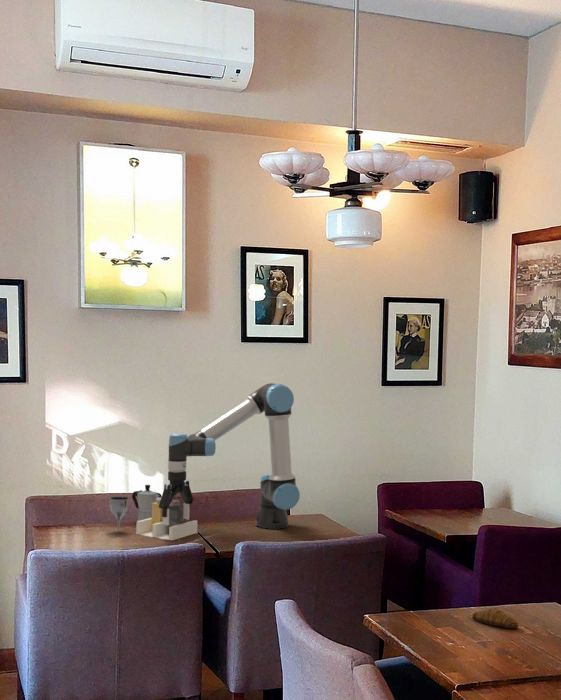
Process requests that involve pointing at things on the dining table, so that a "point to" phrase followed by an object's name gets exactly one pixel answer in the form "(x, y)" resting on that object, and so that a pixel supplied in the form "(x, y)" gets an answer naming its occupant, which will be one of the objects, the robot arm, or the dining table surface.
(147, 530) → the comb rack
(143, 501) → the coffee maker
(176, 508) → the dark grey bottle
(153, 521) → the ochre peg
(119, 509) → the wine glass
